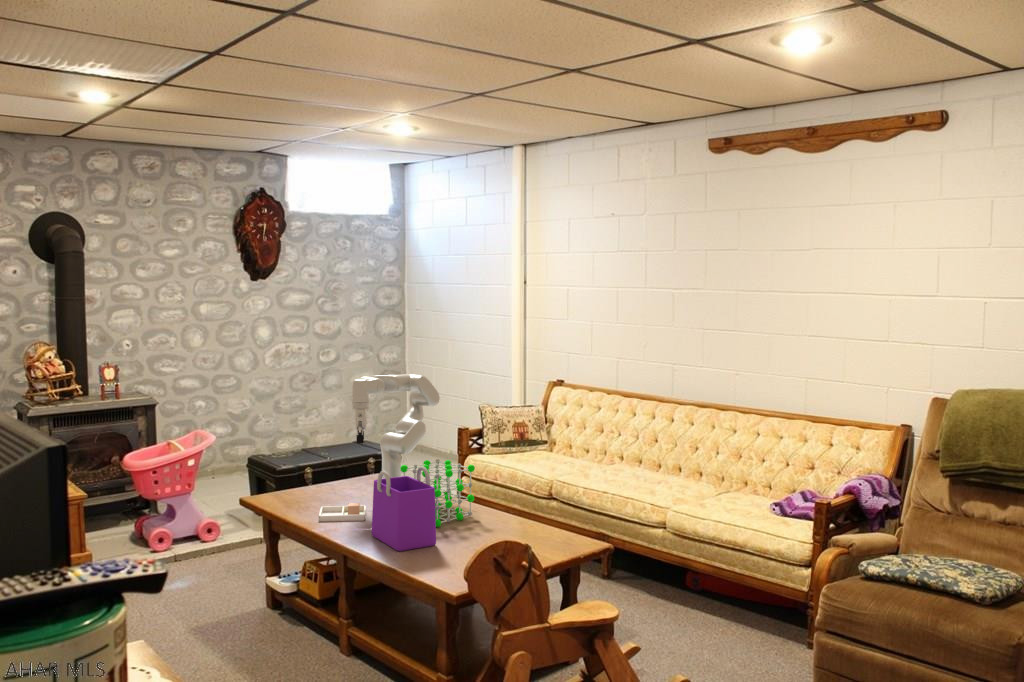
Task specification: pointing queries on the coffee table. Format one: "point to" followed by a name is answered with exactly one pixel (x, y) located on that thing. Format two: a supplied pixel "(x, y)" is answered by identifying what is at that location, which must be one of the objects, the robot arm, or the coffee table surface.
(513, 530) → the coffee table surface
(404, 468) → the molecular structure model
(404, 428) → the robot arm
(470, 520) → the coffee table surface
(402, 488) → the shopping bag
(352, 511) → the plain light orange cube
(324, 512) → the sorting box
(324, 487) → the coffee table surface
